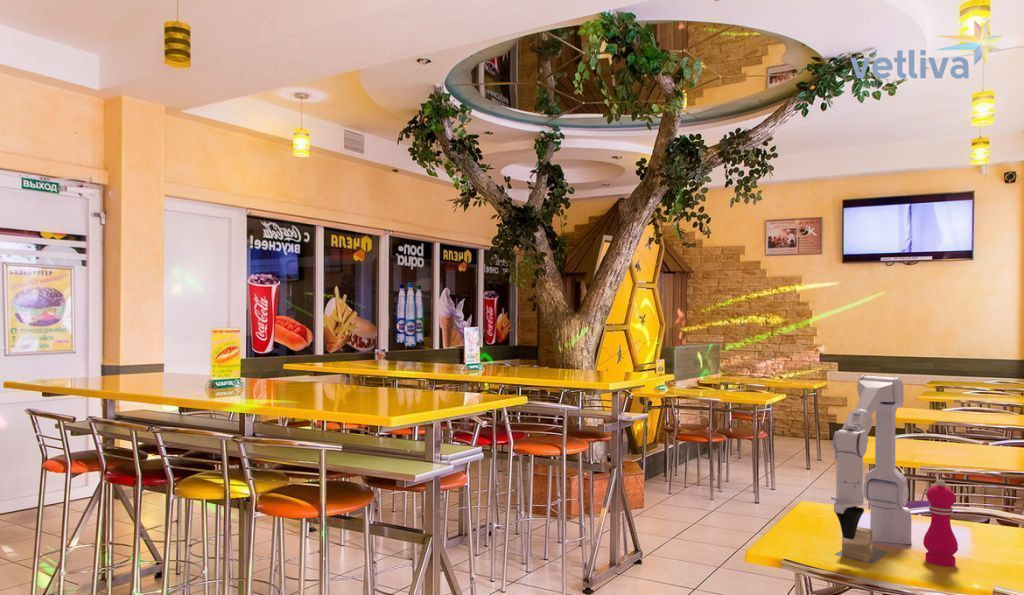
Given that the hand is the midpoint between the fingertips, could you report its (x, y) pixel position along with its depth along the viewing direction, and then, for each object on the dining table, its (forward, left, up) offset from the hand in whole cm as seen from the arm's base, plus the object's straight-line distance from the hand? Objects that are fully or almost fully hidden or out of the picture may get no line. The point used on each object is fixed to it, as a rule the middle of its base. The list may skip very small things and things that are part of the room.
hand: (848, 538), depth 174 cm
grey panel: (-5, -9, -6) cm, 12 cm away
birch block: (-3, -5, -6) cm, 8 cm away
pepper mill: (-22, -7, -6) cm, 24 cm away
